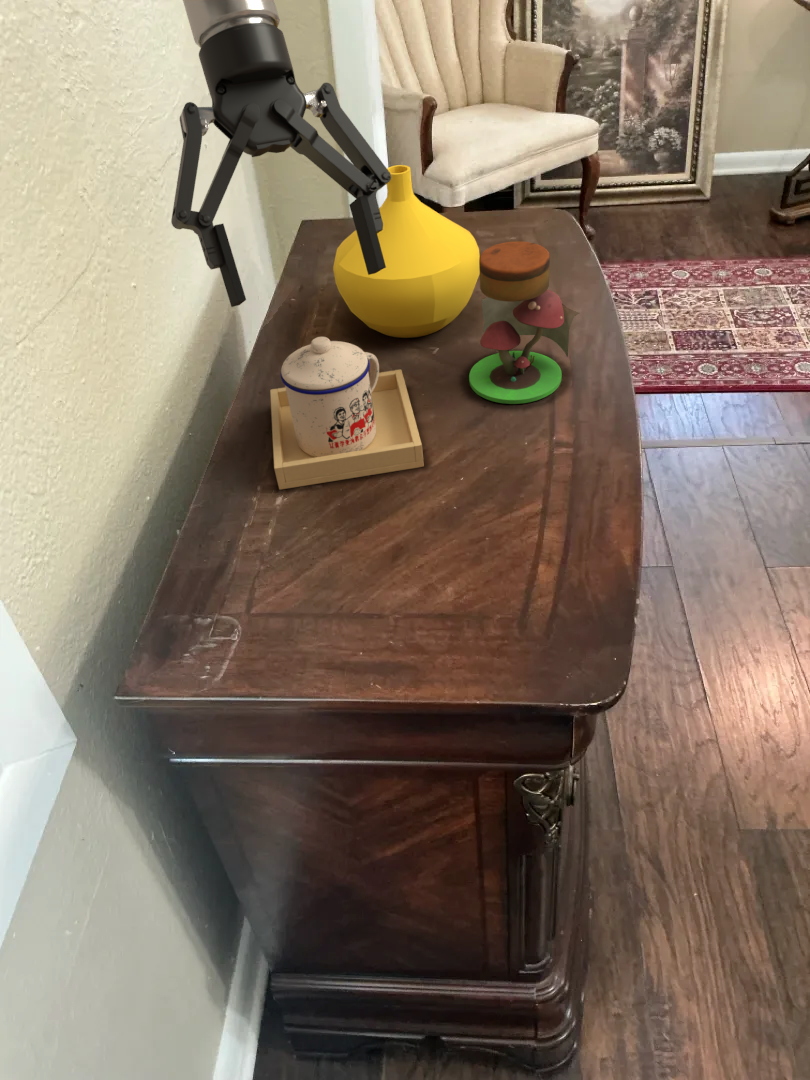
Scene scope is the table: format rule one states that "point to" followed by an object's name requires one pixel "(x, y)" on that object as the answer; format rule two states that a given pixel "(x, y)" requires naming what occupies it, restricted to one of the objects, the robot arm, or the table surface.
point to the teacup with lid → (331, 396)
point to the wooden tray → (384, 454)
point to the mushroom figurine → (518, 324)
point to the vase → (409, 267)
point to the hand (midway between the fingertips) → (310, 287)
